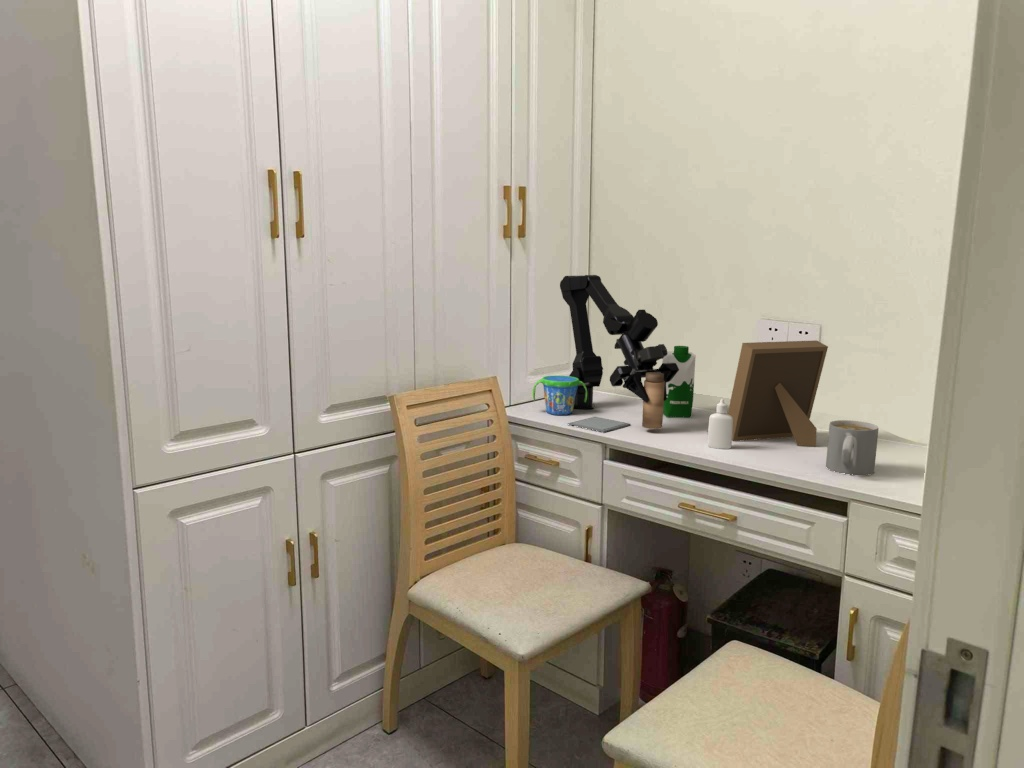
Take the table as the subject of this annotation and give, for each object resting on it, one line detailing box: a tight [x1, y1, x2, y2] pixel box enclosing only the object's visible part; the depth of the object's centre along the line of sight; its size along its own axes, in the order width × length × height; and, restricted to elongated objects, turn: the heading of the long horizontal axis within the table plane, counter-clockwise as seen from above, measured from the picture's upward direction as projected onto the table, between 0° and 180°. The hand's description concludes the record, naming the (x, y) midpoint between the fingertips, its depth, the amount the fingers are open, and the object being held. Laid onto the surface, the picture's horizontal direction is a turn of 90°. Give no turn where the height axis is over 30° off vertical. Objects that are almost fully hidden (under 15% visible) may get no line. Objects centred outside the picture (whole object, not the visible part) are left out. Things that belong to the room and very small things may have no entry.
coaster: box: [567, 416, 631, 433], centre depth 217 cm, size 12×12×1 cm
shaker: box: [641, 372, 665, 430], centre depth 210 cm, size 5×5×14 cm
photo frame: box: [727, 339, 829, 447], centre depth 201 cm, size 15×22×25 cm
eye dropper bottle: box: [707, 398, 733, 450], centre depth 195 cm, size 4×6×12 cm
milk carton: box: [661, 345, 697, 418], centre depth 230 cm, size 9×9×20 cm
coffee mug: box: [825, 419, 879, 476], centre depth 177 cm, size 13×10×10 cm
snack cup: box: [532, 375, 587, 416], centre depth 231 cm, size 16×11×10 cm
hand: (656, 400), depth 209 cm, fingers closed on shaker, 5 cm apart
